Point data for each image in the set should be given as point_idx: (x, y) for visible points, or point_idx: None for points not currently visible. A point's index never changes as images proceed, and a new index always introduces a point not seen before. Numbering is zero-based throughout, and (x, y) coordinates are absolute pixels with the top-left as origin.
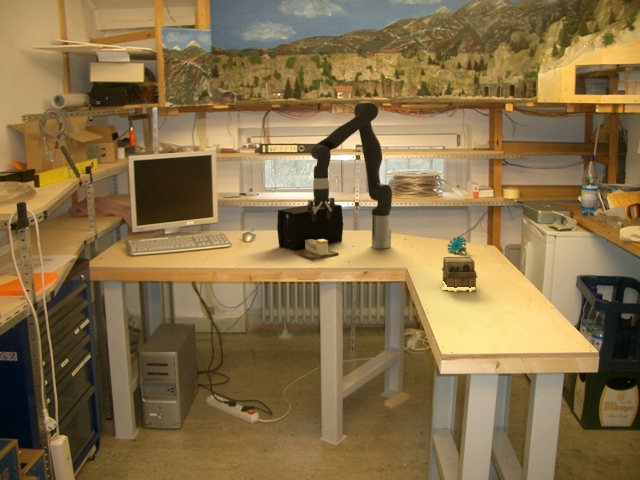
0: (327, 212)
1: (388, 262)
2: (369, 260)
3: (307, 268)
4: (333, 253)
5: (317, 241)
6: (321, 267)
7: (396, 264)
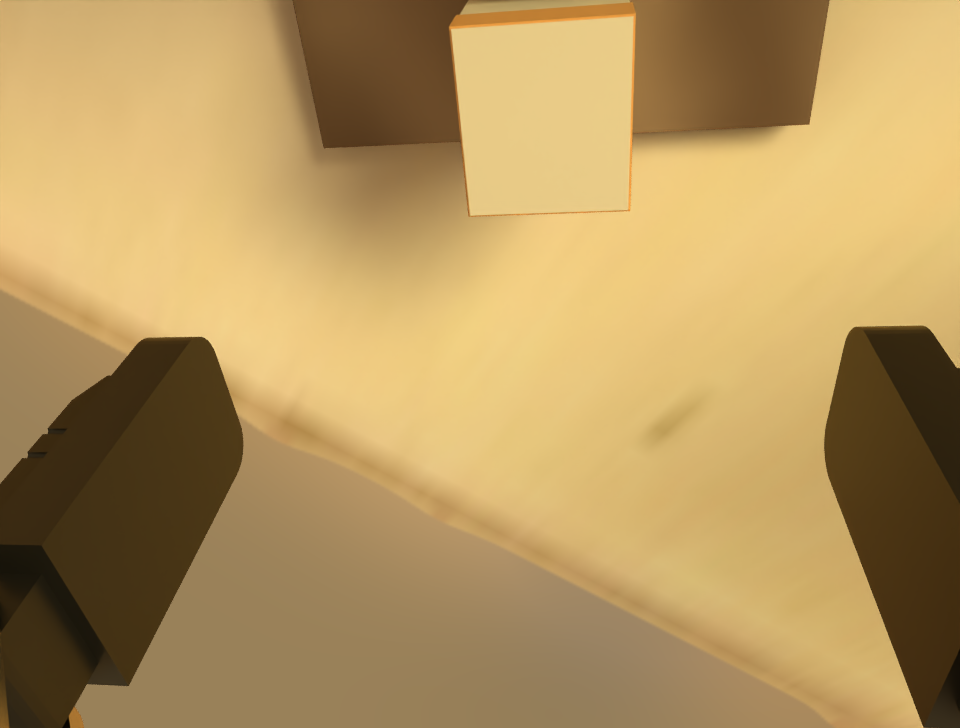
0: (949, 560)
1: None
2: None
3: None
4: (717, 119)
5: (458, 87)
6: (324, 414)
7: None
